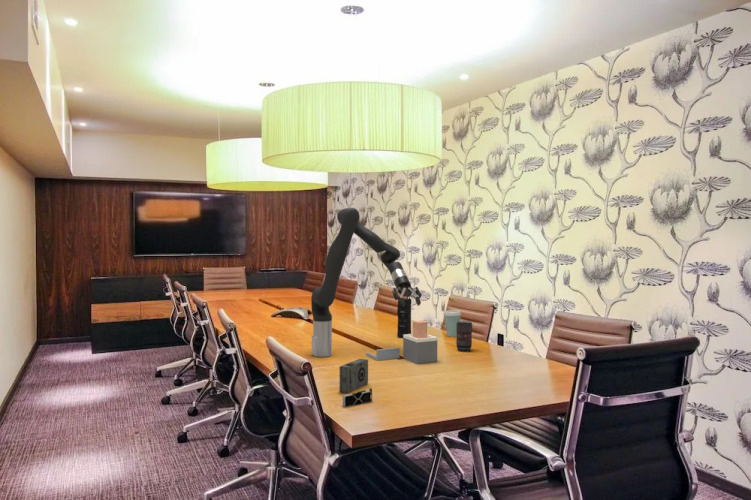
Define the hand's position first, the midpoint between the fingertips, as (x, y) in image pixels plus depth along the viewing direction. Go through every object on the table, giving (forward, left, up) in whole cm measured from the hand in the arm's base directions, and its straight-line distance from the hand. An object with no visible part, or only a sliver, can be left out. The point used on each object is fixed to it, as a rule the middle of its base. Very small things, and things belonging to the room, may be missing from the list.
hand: (411, 305), depth 262 cm
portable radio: (+22, +47, -26) cm, 58 cm away
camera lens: (+32, +1, -26) cm, 41 cm away
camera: (-48, -38, -26) cm, 66 cm away
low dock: (-13, +6, -25) cm, 29 cm away
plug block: (0, -8, -15) cm, 17 cm away
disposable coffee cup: (+50, +38, -26) cm, 68 cm away
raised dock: (0, -8, -25) cm, 26 cm away
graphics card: (-54, -56, -26) cm, 82 cm away
